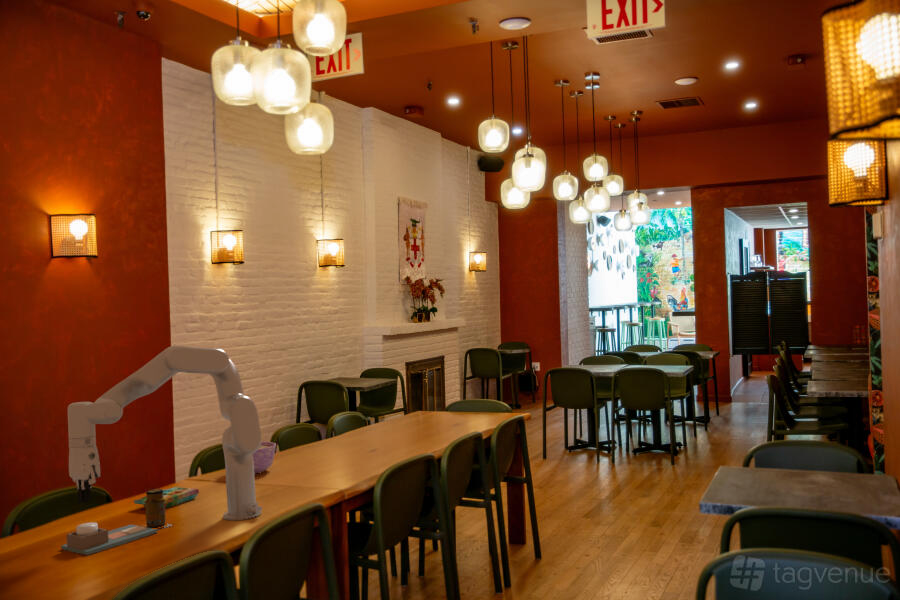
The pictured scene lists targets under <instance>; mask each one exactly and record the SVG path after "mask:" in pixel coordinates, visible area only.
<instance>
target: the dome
mask: <svg viewBox="0 0 900 600" xmlns="http://www.w3.org/2000/svg"><path fill="white" fill-rule="evenodd" d="M98 528H99V525H98V523H97V522H93V521H92V522H85V523H80V524H78V525H76V527H75V532H76V534H77V535H78V536H82V537H83V536H87V535H90V534H93V533H97V532H98Z"/></svg>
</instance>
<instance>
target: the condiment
mask: <svg viewBox="0 0 900 600" xmlns="http://www.w3.org/2000/svg"><path fill="white" fill-rule="evenodd" d="M163 490H164V489H162V488H154V489H149V490H147V491H146V495H145V496H146V497H147V499H146V501H145V502H146V507H145V522H146V524H145V525H141V526H142V527H143V526H146V525H147V528H158V527H162V526H164V525H165V523H166V508H165V499H164V497H163ZM169 526H170V527H173V526H174V525H173V524H170V523H167V526H164V528H163V529H166V528H170V527H169Z"/></svg>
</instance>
